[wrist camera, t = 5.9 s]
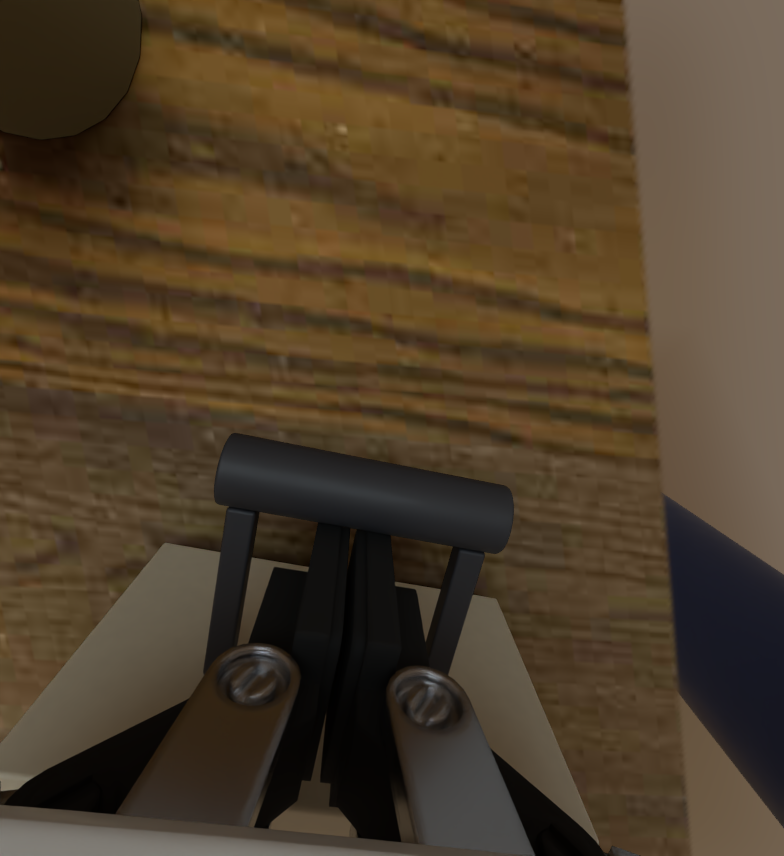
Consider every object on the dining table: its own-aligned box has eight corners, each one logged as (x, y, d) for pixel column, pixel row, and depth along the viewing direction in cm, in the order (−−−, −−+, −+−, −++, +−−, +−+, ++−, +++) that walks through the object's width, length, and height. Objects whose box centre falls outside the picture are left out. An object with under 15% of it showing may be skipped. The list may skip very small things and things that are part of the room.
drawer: (183, 369, 14) (-28, 455, 7) (546, 444, 15) (720, 590, 8) (130, 840, 19) (-25, 1199, 11) (409, 869, 20) (433, 1211, 13)
